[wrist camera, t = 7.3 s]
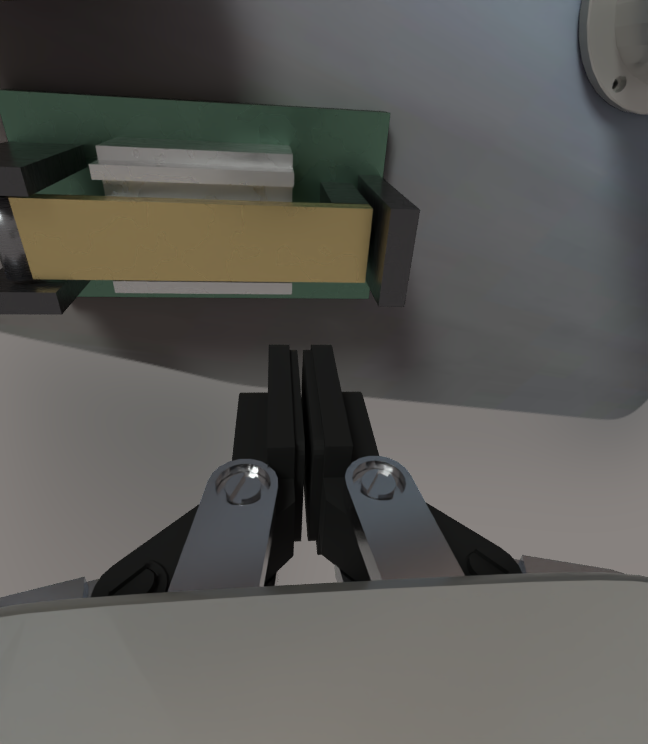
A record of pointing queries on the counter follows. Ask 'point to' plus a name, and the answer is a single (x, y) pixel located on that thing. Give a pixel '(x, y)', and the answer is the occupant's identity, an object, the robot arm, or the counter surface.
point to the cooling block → (203, 179)
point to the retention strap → (182, 239)
